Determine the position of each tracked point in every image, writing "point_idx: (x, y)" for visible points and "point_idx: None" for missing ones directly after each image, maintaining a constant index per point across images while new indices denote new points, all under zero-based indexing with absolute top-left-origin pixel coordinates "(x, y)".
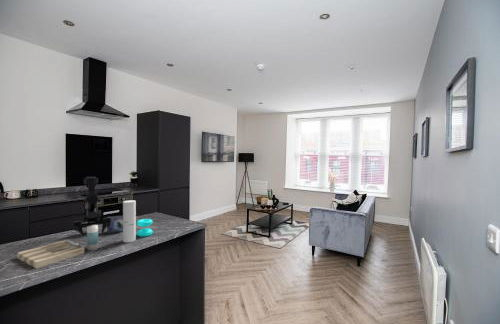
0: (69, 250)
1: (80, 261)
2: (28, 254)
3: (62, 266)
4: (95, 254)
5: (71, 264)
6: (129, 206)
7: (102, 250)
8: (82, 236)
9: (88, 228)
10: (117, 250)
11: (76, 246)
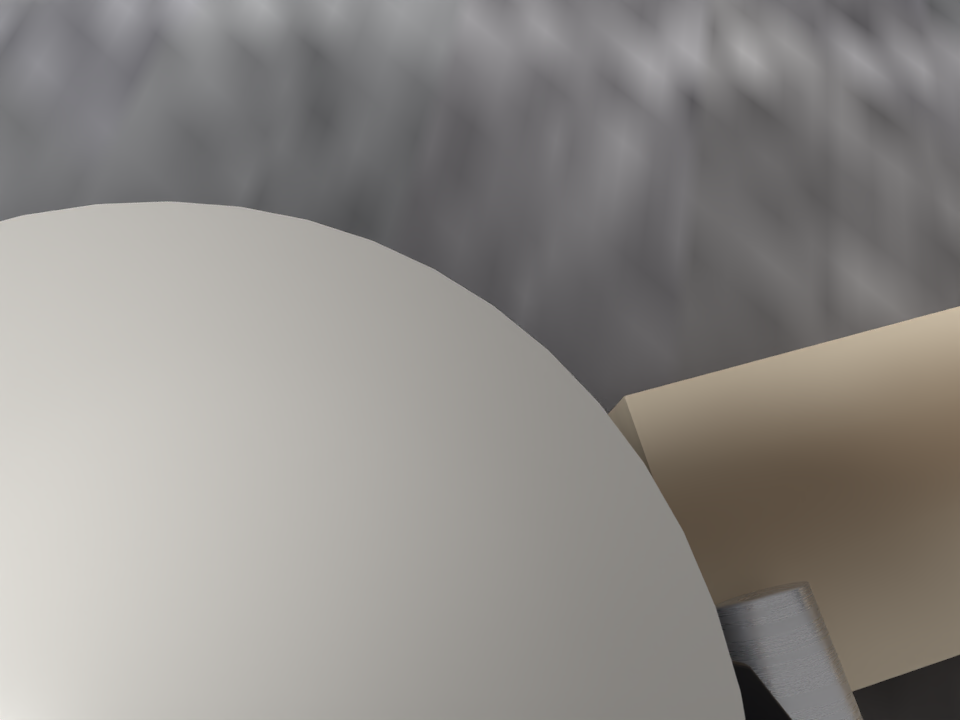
0: (957, 442)
1: (702, 50)
2: None
3: (952, 43)
4: (424, 190)
5: (831, 27)
6: None
7: None
8: (761, 693)
9: (607, 454)
10: (20, 103)
11: None
